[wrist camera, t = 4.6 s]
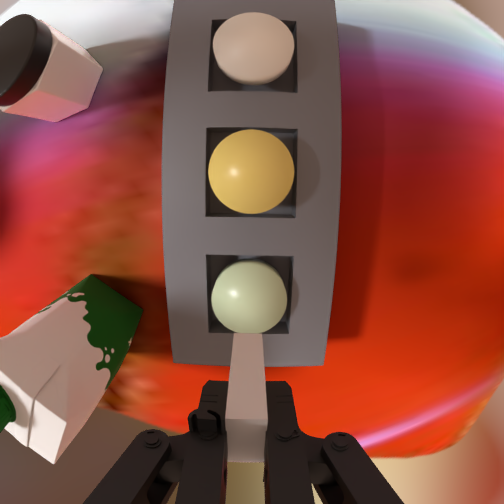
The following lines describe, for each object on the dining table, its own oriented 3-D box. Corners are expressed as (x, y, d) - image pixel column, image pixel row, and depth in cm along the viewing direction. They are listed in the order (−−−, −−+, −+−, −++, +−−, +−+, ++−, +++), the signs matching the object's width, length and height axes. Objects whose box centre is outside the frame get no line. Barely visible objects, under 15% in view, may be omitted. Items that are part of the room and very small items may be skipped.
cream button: (214, 85, 21) (210, 77, 19) (217, 23, 20) (214, 12, 18) (291, 86, 21) (294, 79, 19) (290, 25, 20) (293, 14, 18)
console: (183, 337, 32) (173, 362, 27) (185, 17, 24) (175, -6, 19) (314, 339, 32) (323, 365, 27) (322, 20, 24) (334, -4, 19)
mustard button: (211, 210, 24) (208, 213, 22) (212, 133, 22) (209, 129, 20) (289, 211, 24) (293, 214, 22) (291, 134, 22) (294, 130, 20)
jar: (59, 48, 24) (-3, 14, 12) (113, 51, 24) (54, 4, 13) (33, 118, 26) (-39, 106, 14) (83, 128, 26) (8, 112, 15)
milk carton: (88, 262, 30) (-47, 349, 10) (155, 308, 31) (64, 448, 11) (66, 320, 31) (-38, 418, 12) (126, 362, 33) (51, 490, 13)
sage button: (215, 322, 27) (212, 333, 25) (213, 257, 25) (210, 264, 23) (282, 323, 27) (284, 334, 25) (286, 258, 25) (289, 265, 23)
